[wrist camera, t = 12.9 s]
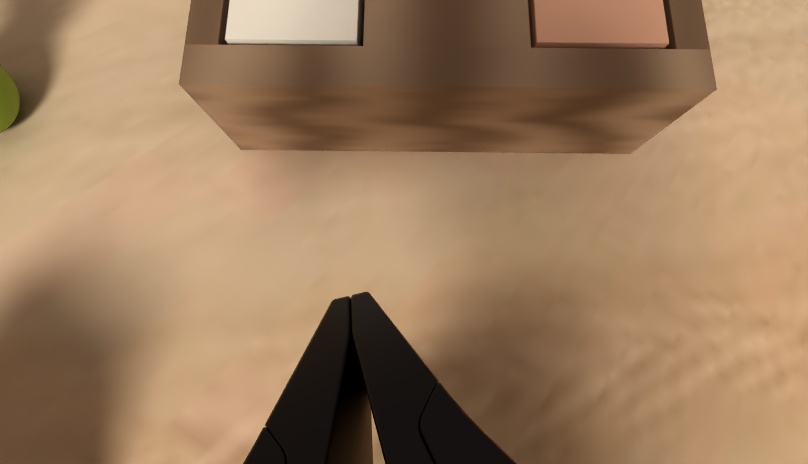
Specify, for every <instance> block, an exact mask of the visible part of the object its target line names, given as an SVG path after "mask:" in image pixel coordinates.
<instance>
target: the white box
mask: <svg viewBox="0 0 808 464" xmlns="http://www.w3.org/2000/svg"><path fill="white" fill-rule="evenodd" d="M364 11H365V0H230V2H229V10H228V18H227V27H226V35H225V40H226V41H227V43H228V45H302V46H363V38H364Z"/></svg>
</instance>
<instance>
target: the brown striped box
mask: <svg viewBox="0 0 808 464" xmlns="http://www.w3.org/2000/svg"><path fill="white" fill-rule="evenodd" d="M229 2H230V0H191V5H190V12H189V19H188V25H187V32H186V39H185V46H184V53H183V60H182V67H181V73H180V80H179V84H180V86H181V87H182V88H183V89H184V90H185V91H186V92H187V93H188V94H189V95H190V96H191V97H192V98H193V99H194V100H195V101H196V102H197V104H198V105H199V106H200V107H201V108H202V109H203V110H204V111H205V112H206V113H207V114H208V115H209V116H210V117H211V118H212V119H213V120H214V122H215V123H216V124H217V125H218V126H219V127H220V128H221V129H222V130H223V131H224V132H225V133H226V134H227V135H228V136H229V137H230V138H231V140H232V141H233V142H234V143H235V144H236V145H237V146H238V147H239V148H240V149H241V150H339V151H436V152H534V153H632V152H633V151H634V150H636V149H637V148H638V147H640V146H641V145H643V144H644V143H645V142H647V141H648V140H649V139H651V138H652V137H653V136H655V135H656V134H657V133H659V132H660V131H661V130H663V129H664V128H665V127H667V126H668V125H669V124H671V123H672V122H673V121H675V120H676V119H677V118H679V117H680V116H681V115H683V114H684V113H686V112H687V111H688V110H690V109H691V108H692V107H694V106H695V105H696V104H698V103H699V102H700V101H702V100H703V99H704V98H706V97H707V96H708V95H710V94H711V93H712V92H714V91H715V90H716V89H717V88H716V82H715V76H714V70H713V65H712V59H711V53H710V47H709V41H708V36H707V30H706V24H705V18H704V13H703V7H702V1H701V0H663V5H664V12H665V18H666V25H667V32H668V38H669V44H668V45H667V46H666V47H665V48H664V49H609V48H531V42H530V26H529V11H528V0H365V11H364V38H363V46H302V45H228V43H227V41H226V40H225V35H226V27H227V18H228V10H229Z"/></svg>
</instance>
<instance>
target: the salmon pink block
mask: <svg viewBox="0 0 808 464" xmlns="http://www.w3.org/2000/svg"><path fill="white" fill-rule="evenodd" d="M528 11H529V26H530V42H531V48H609V49H664V48H665V47H666V46H667V45H668V44H669V38H668V32H667V25H666V18H665V12H664V5H663V0H528Z"/></svg>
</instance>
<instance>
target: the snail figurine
mask: <svg viewBox="0 0 808 464" xmlns="http://www.w3.org/2000/svg"><path fill="white" fill-rule="evenodd" d="M19 107H20V97H19V93H18V89H17V87H16V85H15V83H14V81H13V79H12V78H11V76H10V75H9V73H8V72H7V71H6V70H5V69H4V68H3V67H2V66H1V65H0V133H1V132H3V131H4V130H6V129H7V128H8V127H9V126H10V125H11V124H12V123H13V121H14V120H15V118H16V117H17V114H18V111H19Z"/></svg>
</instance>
